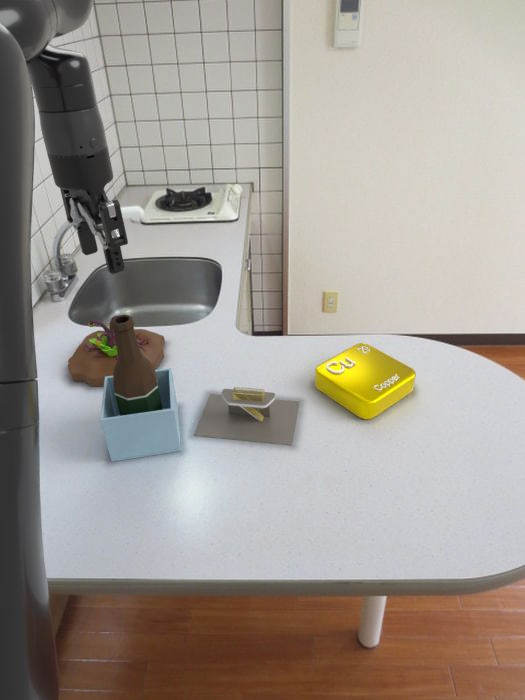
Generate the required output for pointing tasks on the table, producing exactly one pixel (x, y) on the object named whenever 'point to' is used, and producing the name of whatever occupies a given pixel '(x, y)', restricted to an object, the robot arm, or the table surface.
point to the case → (141, 423)
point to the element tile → (364, 380)
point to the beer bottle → (133, 372)
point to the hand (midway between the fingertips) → (103, 262)
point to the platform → (249, 417)
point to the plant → (109, 354)
